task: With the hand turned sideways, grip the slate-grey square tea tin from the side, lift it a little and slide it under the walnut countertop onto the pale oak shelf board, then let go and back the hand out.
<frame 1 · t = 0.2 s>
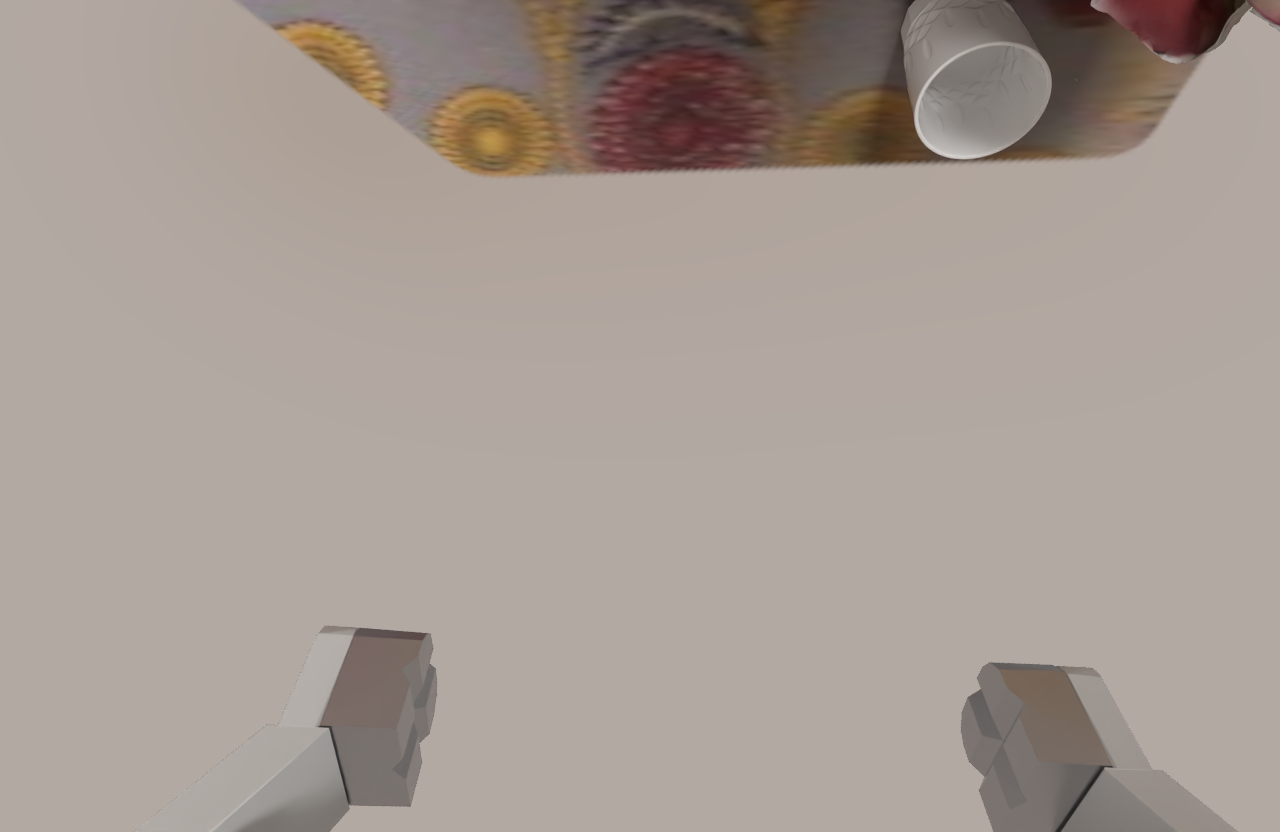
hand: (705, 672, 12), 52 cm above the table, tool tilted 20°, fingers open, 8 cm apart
white cup: (950, 21, 56), on the table
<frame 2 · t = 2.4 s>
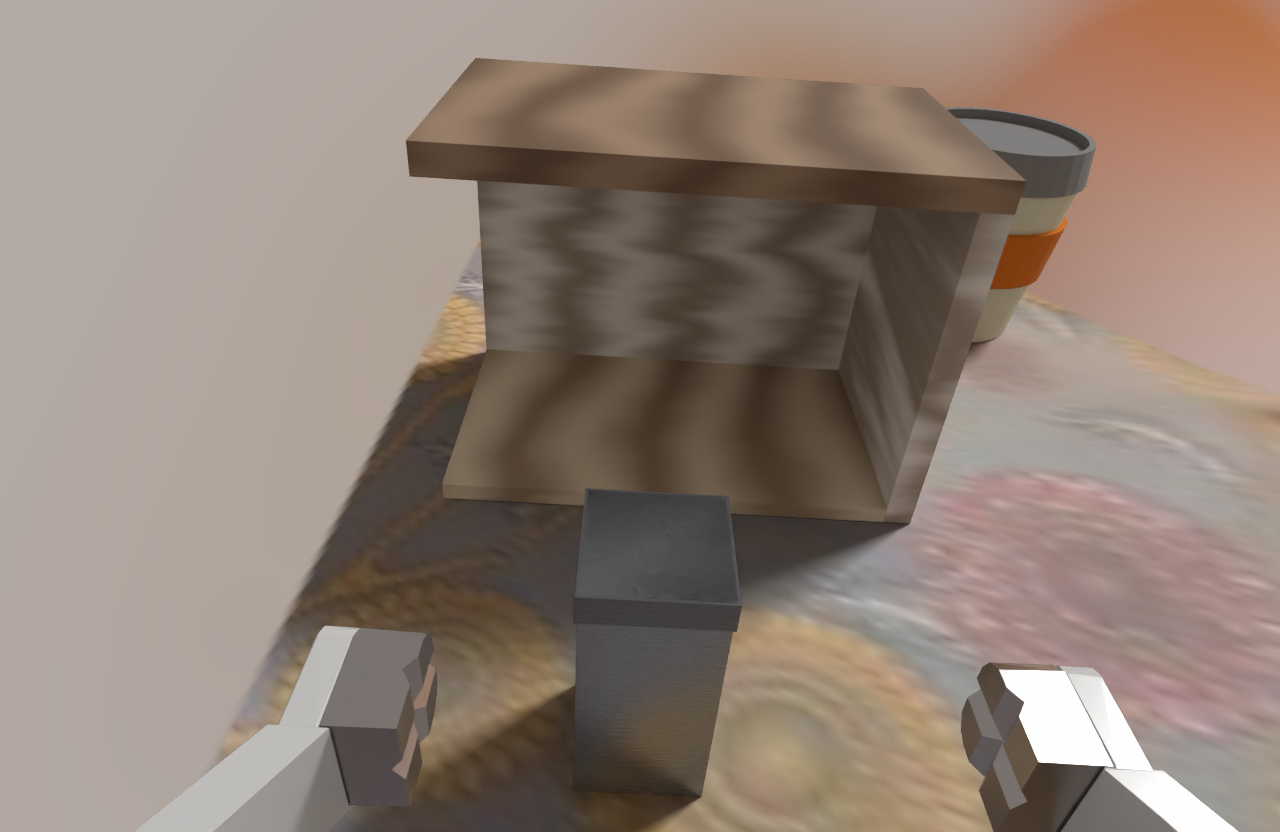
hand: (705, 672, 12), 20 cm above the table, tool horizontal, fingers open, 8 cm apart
reusable coffee cup: (947, 317, 67), on the table
counter: (674, 426, 52), on the table
tea tin: (638, 735, 33), on the table
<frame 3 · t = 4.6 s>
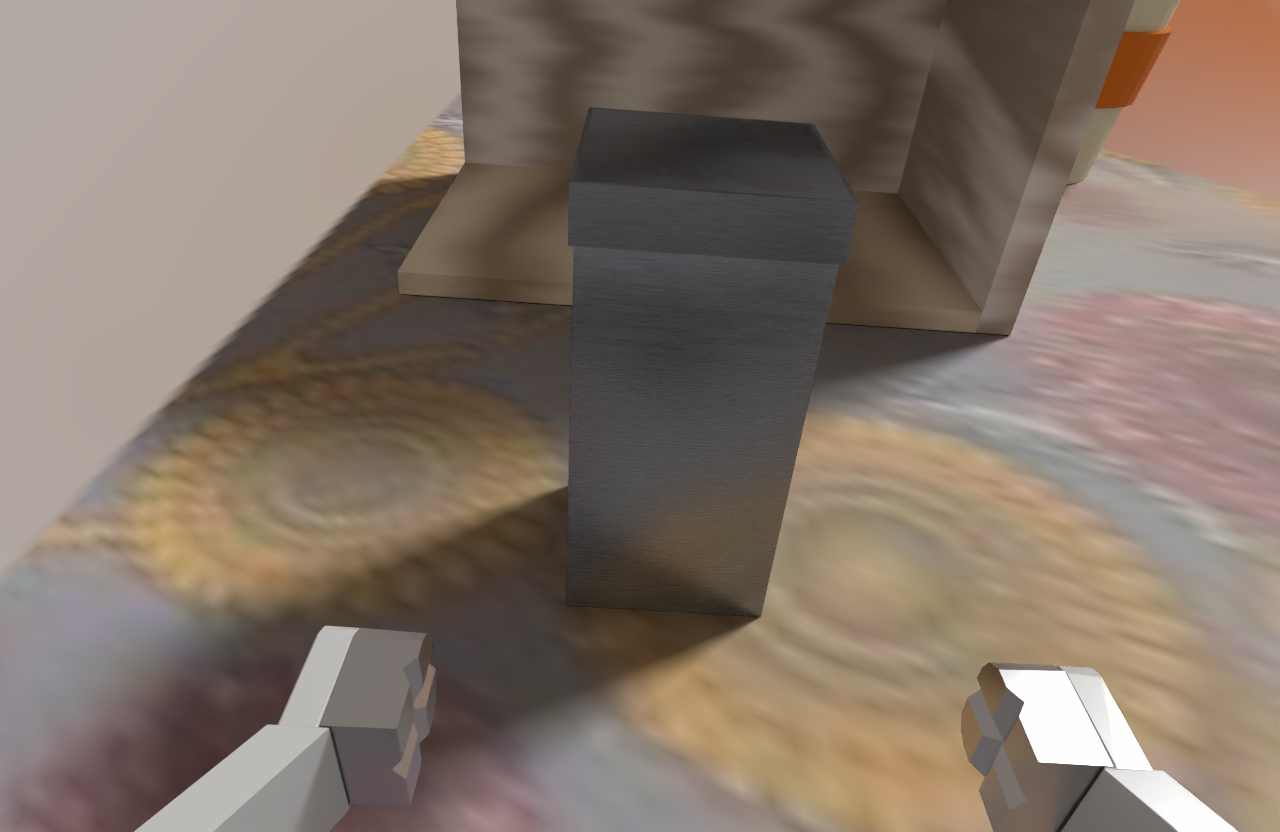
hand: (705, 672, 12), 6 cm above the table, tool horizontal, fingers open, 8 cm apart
reusable coffee cup: (1016, 165, 56), on the table
counter: (699, 240, 41), on the table
tea tin: (662, 542, 23), on the table
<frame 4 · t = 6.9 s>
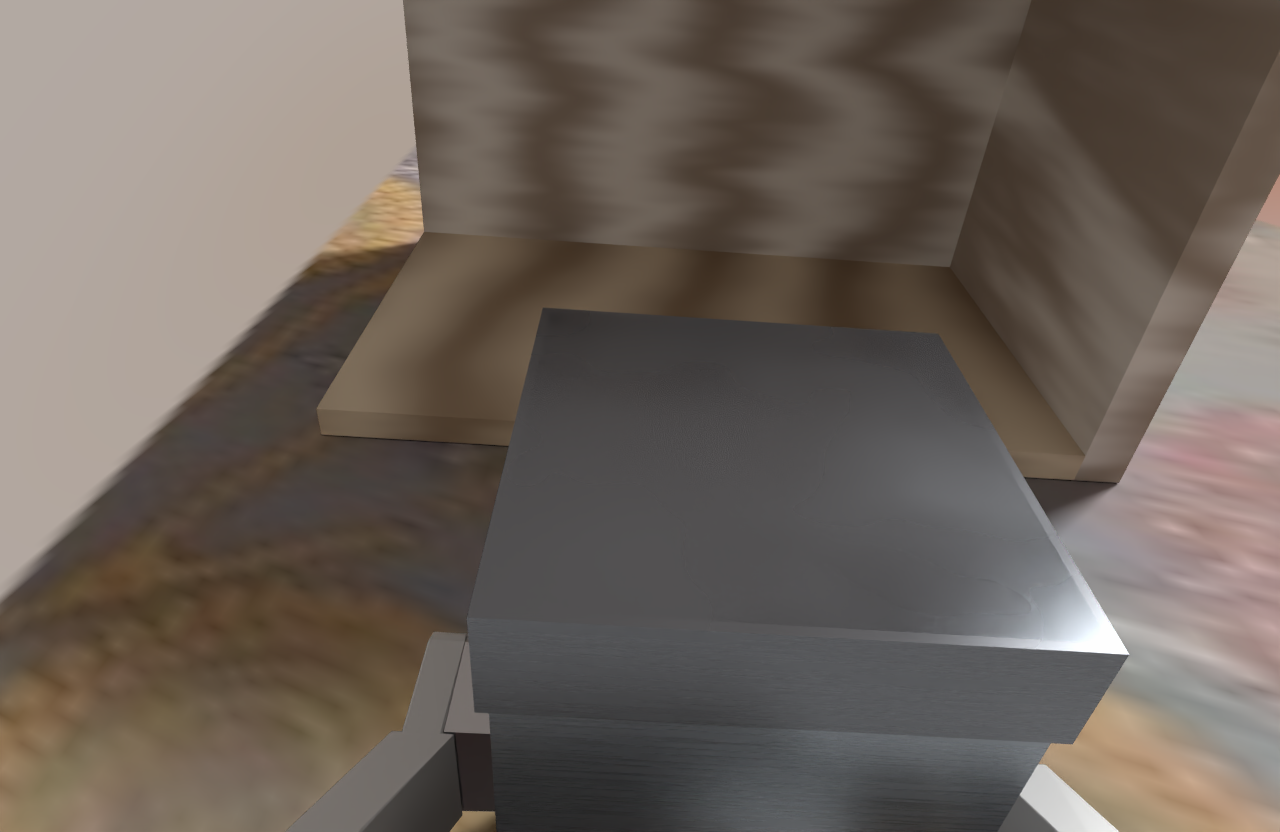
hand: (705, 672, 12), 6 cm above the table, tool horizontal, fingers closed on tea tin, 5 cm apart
counter: (710, 338, 33), on the table
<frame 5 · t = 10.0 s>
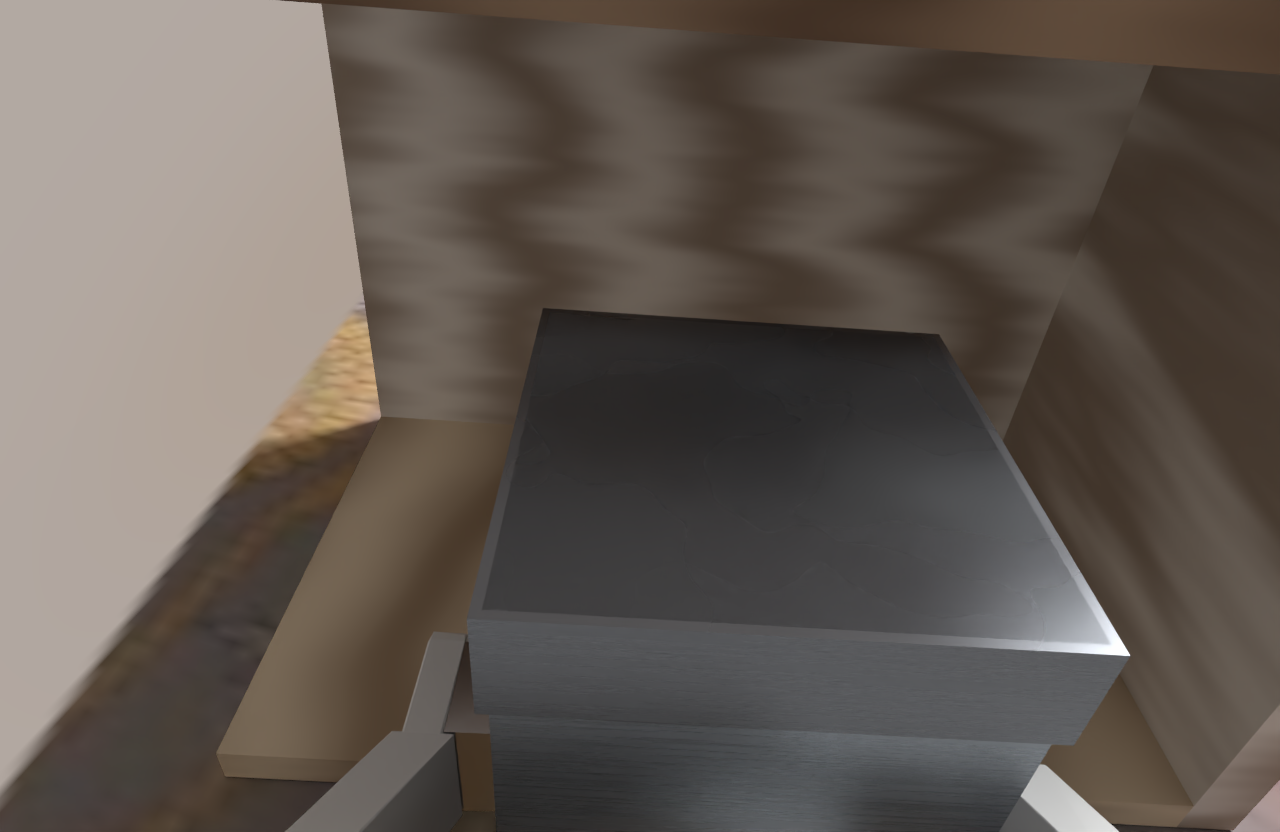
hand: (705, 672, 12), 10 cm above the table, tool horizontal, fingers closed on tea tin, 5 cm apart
counter: (717, 575, 27), on the table
when the fingers open (8 cm above the table, at t = 13.0 s): tea tin stays where it is, resting on counter.
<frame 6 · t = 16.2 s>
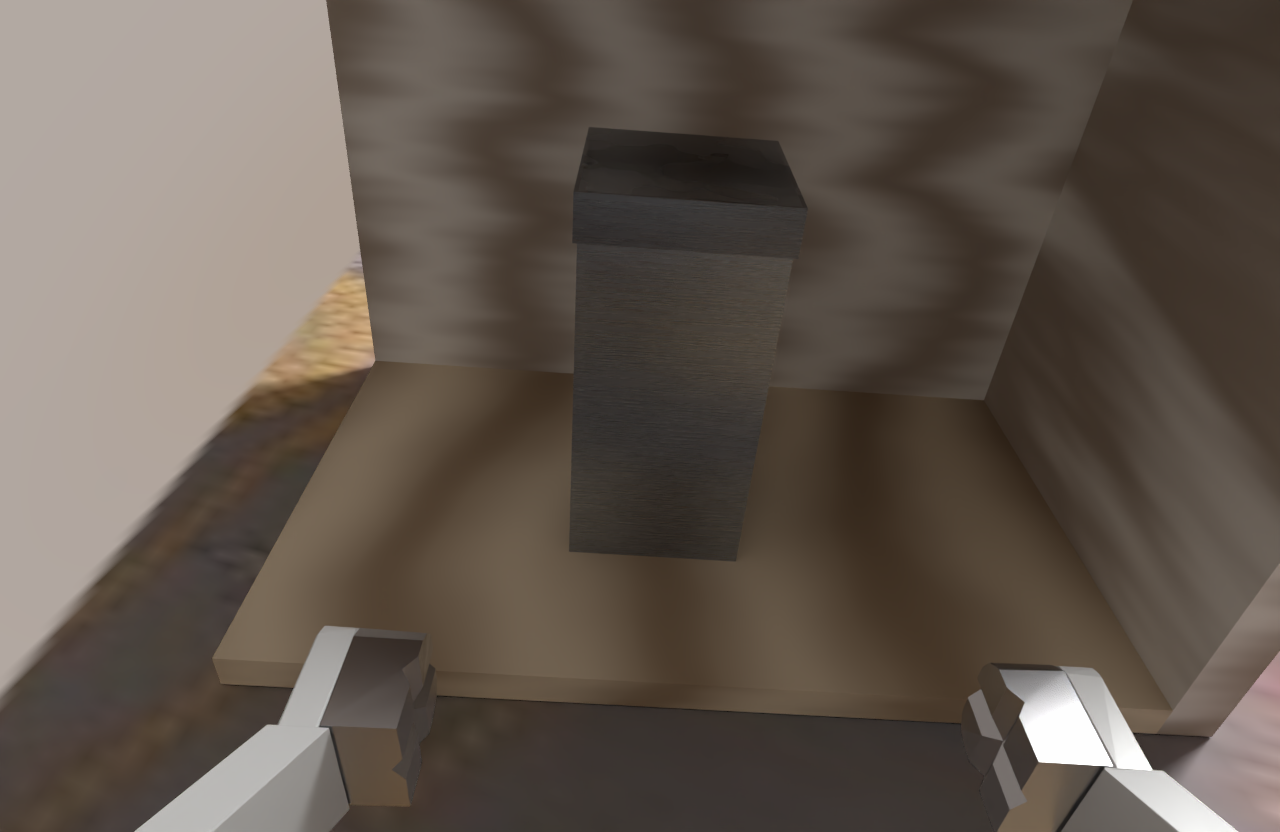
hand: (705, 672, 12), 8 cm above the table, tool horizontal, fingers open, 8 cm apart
counter: (707, 507, 28), on the table
tea tin: (652, 501, 26), point 1 cm above the table, touching counter
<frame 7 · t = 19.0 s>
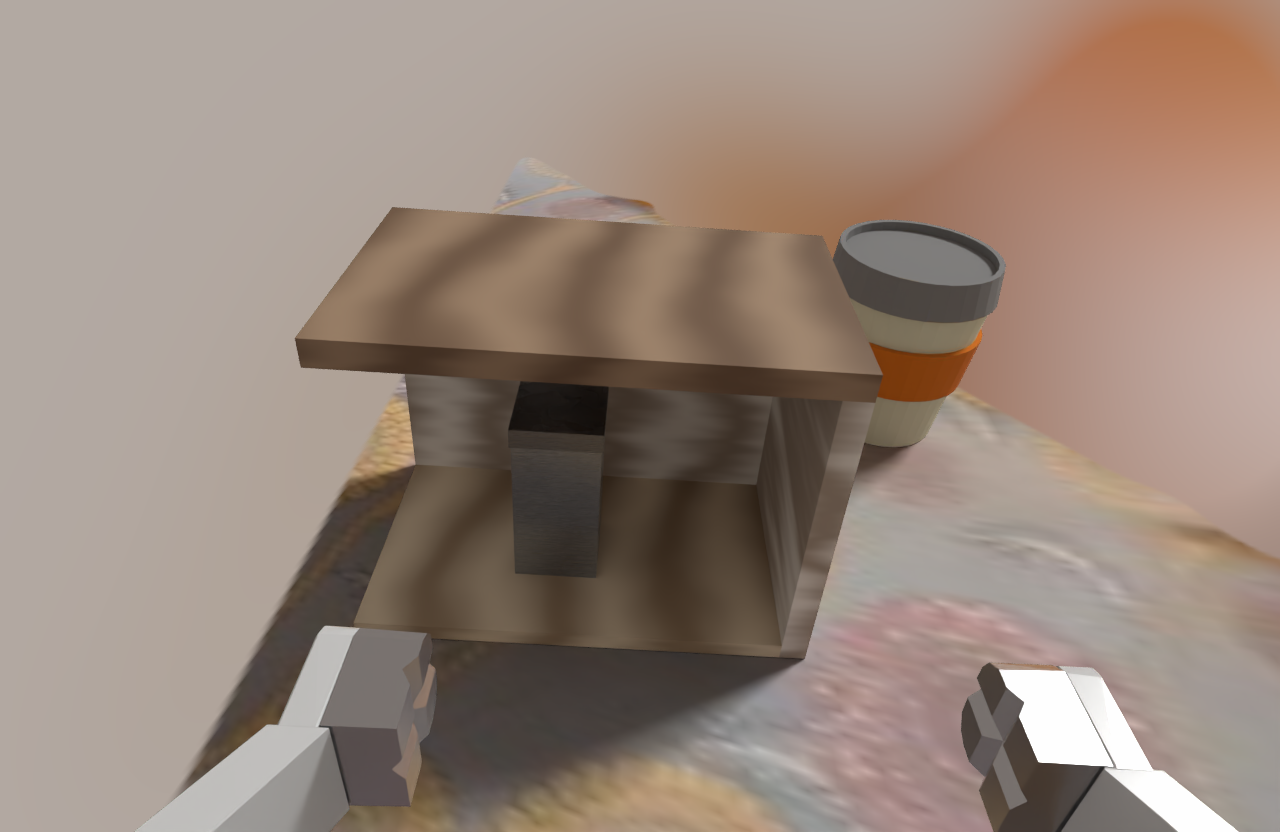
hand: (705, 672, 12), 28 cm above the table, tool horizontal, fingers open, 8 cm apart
reusable coffee cup: (874, 417, 69), on the table
counter: (590, 549, 53), on the table
tea tin: (559, 547, 52), point 1 cm above the table, touching counter
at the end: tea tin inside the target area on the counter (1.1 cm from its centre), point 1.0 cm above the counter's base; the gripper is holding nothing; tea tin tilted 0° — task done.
